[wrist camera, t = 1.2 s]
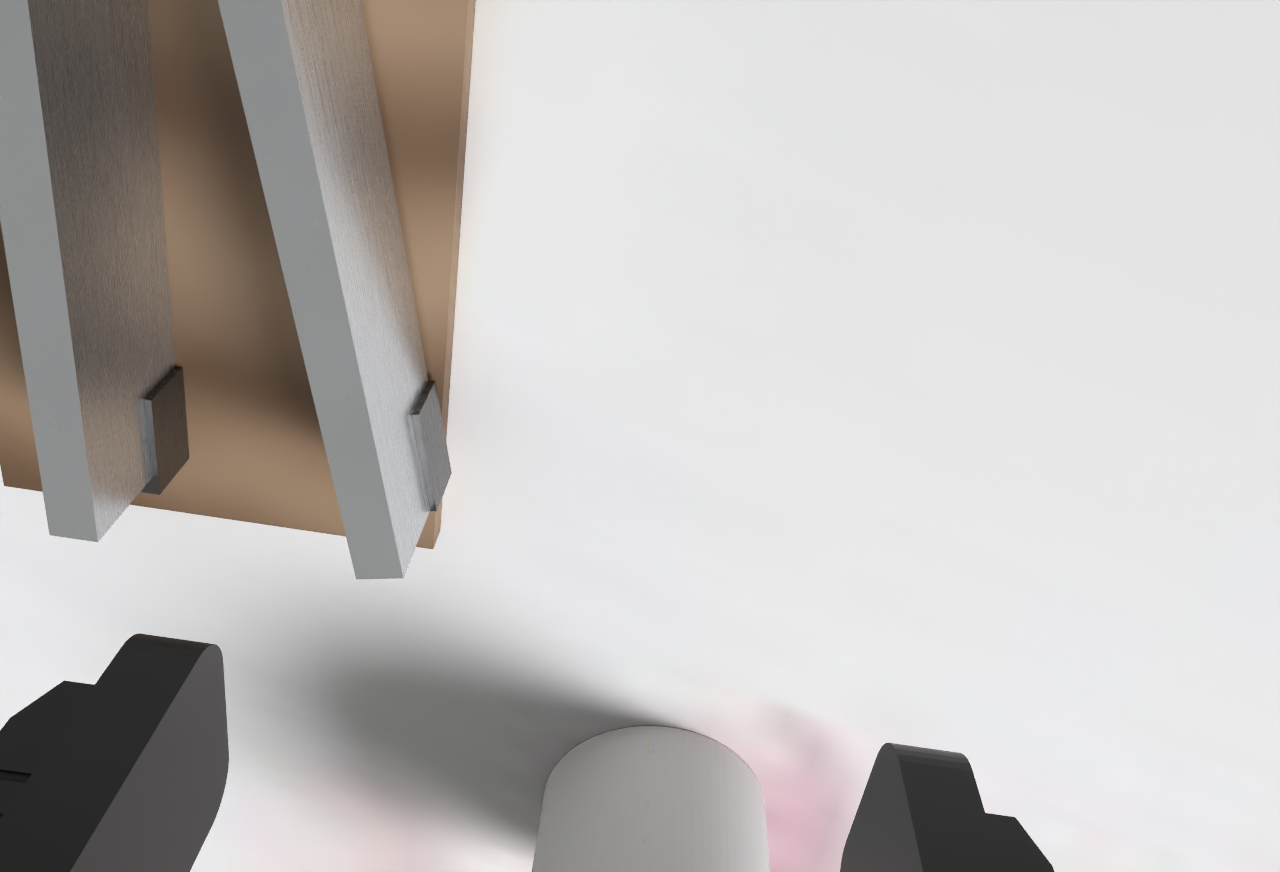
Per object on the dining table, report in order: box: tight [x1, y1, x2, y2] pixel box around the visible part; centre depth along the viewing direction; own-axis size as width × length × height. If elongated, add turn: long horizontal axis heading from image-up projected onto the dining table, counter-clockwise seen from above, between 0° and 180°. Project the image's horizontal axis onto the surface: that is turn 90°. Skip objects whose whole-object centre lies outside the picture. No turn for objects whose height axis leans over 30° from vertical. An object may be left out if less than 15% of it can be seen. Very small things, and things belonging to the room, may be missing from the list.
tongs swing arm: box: [218, 0, 451, 579], centre depth 24 cm, size 20×2×5 cm, turn 4°
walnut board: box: [0, 0, 475, 549], centre depth 26 cm, size 26×13×1 cm, turn 172°
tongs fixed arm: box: [0, 0, 190, 542], centre depth 23 cm, size 24×4×6 cm, turn 172°
